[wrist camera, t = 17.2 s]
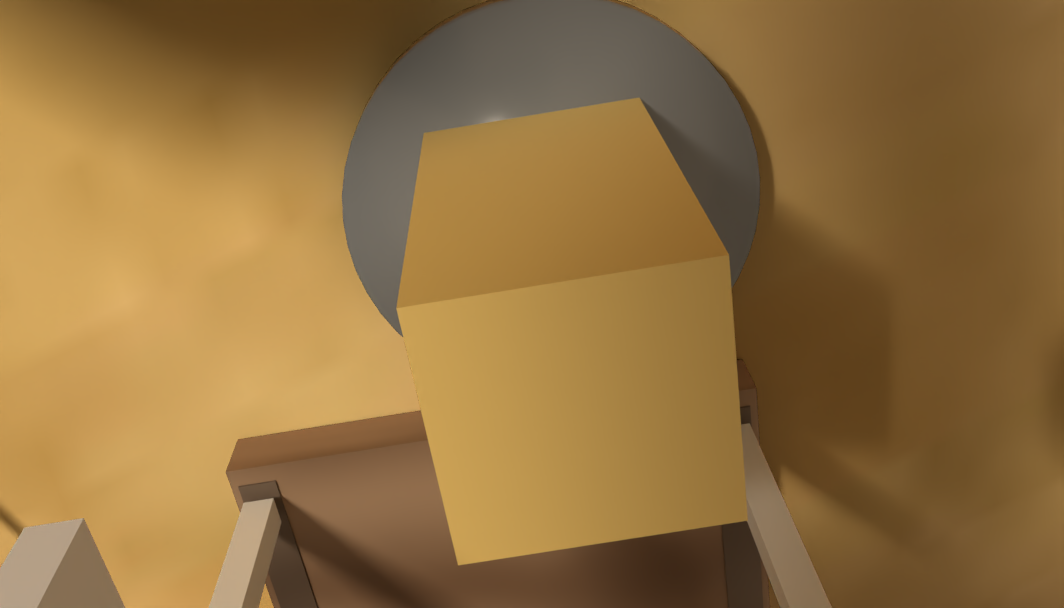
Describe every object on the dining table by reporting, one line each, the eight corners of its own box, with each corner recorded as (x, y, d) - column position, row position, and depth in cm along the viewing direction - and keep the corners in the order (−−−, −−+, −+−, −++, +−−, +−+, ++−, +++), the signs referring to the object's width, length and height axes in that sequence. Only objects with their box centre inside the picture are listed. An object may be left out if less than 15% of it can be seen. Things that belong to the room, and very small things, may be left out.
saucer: (301, 29, 23) (294, 38, 22) (737, -45, 23) (748, -38, 22) (394, 398, 27) (392, 418, 26) (759, 340, 27) (769, 358, 26)
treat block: (423, 133, 23) (396, 308, 15) (639, 97, 23) (729, 254, 15) (463, 323, 25) (458, 565, 17) (660, 292, 25) (747, 520, 17)
